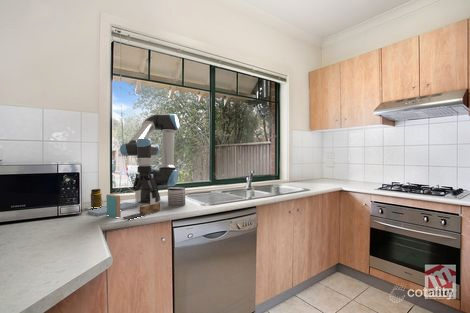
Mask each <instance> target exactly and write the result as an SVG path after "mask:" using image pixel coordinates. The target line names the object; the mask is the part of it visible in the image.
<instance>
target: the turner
mask: <svg viewBox="0 0 470 313" xmlns="http://www.w3.org/2000/svg"><path fill="white" fill-rule="evenodd" d="M161 206H162V204H161V202H159V201H156V202H155V204H152V205H151V204H150V203H148V204H145V205H140V206H139V212H136V213H132V214H129V215H126V216H122V219H123V218H124V219H123V220H125V219H128V220H127V221H129V220H130V219H133V220H135V219H134V218H137V217H140V218H142V217H141V216H144V217H145V216H147V214H148V215H150V213H152V214H154V213H158V212H161V210H162V208H161ZM137 219H138V218H137ZM130 221H131V220H130Z"/></svg>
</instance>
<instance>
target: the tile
mask: <svg viewBox="0 0 470 313" xmlns="http://www.w3.org/2000/svg"><path fill="white" fill-rule="evenodd" d="M105 197H106V207H107V214H106V216H107V215H109V216H108V217H110V216H113V217H112V218H114V217H120V218H121V216H122V215H121V211H120V204H121V195H118V194H111V193H109V194H106V196H105Z"/></svg>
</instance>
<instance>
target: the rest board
mask: <svg viewBox="0 0 470 313" xmlns="http://www.w3.org/2000/svg"><path fill="white" fill-rule="evenodd" d="M134 207H135V208H138V204H136V203H131V202H122V203H121V202H120V210H122V211H125V210H124V209H127V210H130V209H129V208H131V209H134ZM89 213H90V214H89ZM87 214H89V215H93V214H94V215H93V216H96V215H97V217H101V216H104V215H103V214H106V215H107V206H105V207H101V208H97V209H93V210H92V209H87ZM100 215H101V216H100Z"/></svg>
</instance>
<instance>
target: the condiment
mask: <svg viewBox="0 0 470 313" xmlns="http://www.w3.org/2000/svg"><path fill="white" fill-rule="evenodd" d="M90 191H91V193H90V207H93V208H94V207H100V206H103V204H102V202H103V200H102V198H103V197H102V193H101V189H100V188H94V189H91V190H90Z"/></svg>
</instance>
